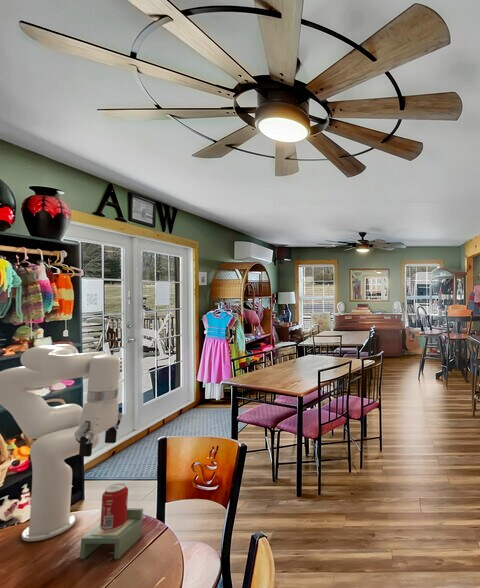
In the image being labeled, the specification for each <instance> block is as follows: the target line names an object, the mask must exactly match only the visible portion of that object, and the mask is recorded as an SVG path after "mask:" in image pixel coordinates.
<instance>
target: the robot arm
mask: <svg viewBox="0 0 480 588" xmlns="http://www.w3.org/2000/svg"><path fill="white" fill-rule="evenodd" d="M19 359H20V364H21V365H22V366H16V367H10V368H7V369H6V368H5V369H3V370H1V371H0V406H2V407H3V408H4V410H6V411H8V412H9V414H11V416H12V417H13V420H14V421H15V422H16V424H17V426H18V427H19V429H20V430H21V431H22V433H23V435H24V436H25V437H26V438H28V439H30V440H34V441H33V442H32V443H31V445H30V448H29V455H30V456H29V457H30V461H31V469H32V478H31V495H30V497H31V498H30V511H29V512H30V513H29V524H28V525H29V526H27V527H26V528H25V529H24V530H23V531H22V532H21V539H22V541H25V542H38V541H39V542H40V541H44V540H48V539H51V538H53V537H55V536H59V535H60V534H63V533H64V532H66V531H68V530H69V529H71V528H72V527H73V526H74V524H75V523H76V516H75V515H74V514H71V504H72V503H71V501H72V500H71V499H72V487H73V469H72V467H71V465H69V464H67V462H65V460H66V459H69V458H71V457H75V456H77V455H78V456H79V457H84V458H85V457H86V458H88V457H91V456H92V455H93V453H92V452H93V449H95V448H96V447H97V446H98V445H99V443H100V439H101V437H100V433H103V432H105V435H104V443H105V444H115V443H116V442H117V434H118V430H119V428H120V427H119V426H120V424H121V420H122V418H123V413H120V412H119V407H120V406H119V397H118V396H119V385H120V373H121V358H120V356H118V355H116V354H109V353H107V352H105V351H93V352H83V353H79V351H78V349H77V347H76V346H74V345H73V344H68V343H63V344H62V343H61V344H49V345H38V346H34V347H30V348H29V349H27V350H25V351H24V352H23V353H22V354H21V356H20V358H19ZM85 377H88V379H87V380H88V381H87V391H86V401H84V404H83V406H81V405H80V404H76V403H67V404H62V405H56V406H50V405H49V404H48V403H47V402H46V400H45V399H44V398H43V397H42V396H41V395H38V394H36V393H34V392H31V391H28V390H35V389H40V388H41V389H42V388H46V387H51V386H55V385H57V384H59V383H60V382H62V381H64V380H72V379H73V380H74V379H77V378H85Z"/></svg>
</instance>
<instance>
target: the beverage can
mask: <svg viewBox="0 0 480 588" xmlns="http://www.w3.org/2000/svg"><path fill="white" fill-rule="evenodd" d="M128 501H129V487H128V486H127V484H126V483H123V482H121V483H115V484H111V485H109V486H108V487H106V488H105V490H104V492H103V493H102V496H101V510H100V511H101V512H100V523H101V525H100V528H101V529H102V530H104V531H106V532H109V531H114V530H117V529H119V528H120V527H121V526H122V525H123V524H124V523H125V522H126V520H127V508H128Z"/></svg>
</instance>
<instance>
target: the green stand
mask: <svg viewBox="0 0 480 588" xmlns="http://www.w3.org/2000/svg"><path fill="white" fill-rule="evenodd" d="M143 516H144V508H143V507H140V508H139V507H137V508H136V507H135V508H134V507H132V508H131V507H129V508H128V507H127V520H126V522H125V523H124V524H123V525H122V526H121V527H120V528H119V529H117V530H114V531H109V532H106V531H104V530H102V529H101V528H100V525H101V522H99V524H98V525H96V526H94V528H92V529H91V530H89V532H87V533H86V534H85V535H84V536H82V537H81V539H80V550H79V551H80V552H79V555H80V556H79V559H80V560H85V559H86V558H87V557H88V556H89V555H91V554H93V552H94V551H95V550H96V549H98V548H99V547H100V546H101V545H103V544H105V545H106V544H107V545H108V544H112V545H113V544H114V553H113V554H114V556H113V559H114V560H119V559H120V558H121V557H122V556H123V555H124V554H125V553H126V552H127V551H128V550H130V548H131V547H132V546H133V545H135V543H137V542H138V541H139V540H140V539H141V538H142V536H143Z"/></svg>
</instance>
